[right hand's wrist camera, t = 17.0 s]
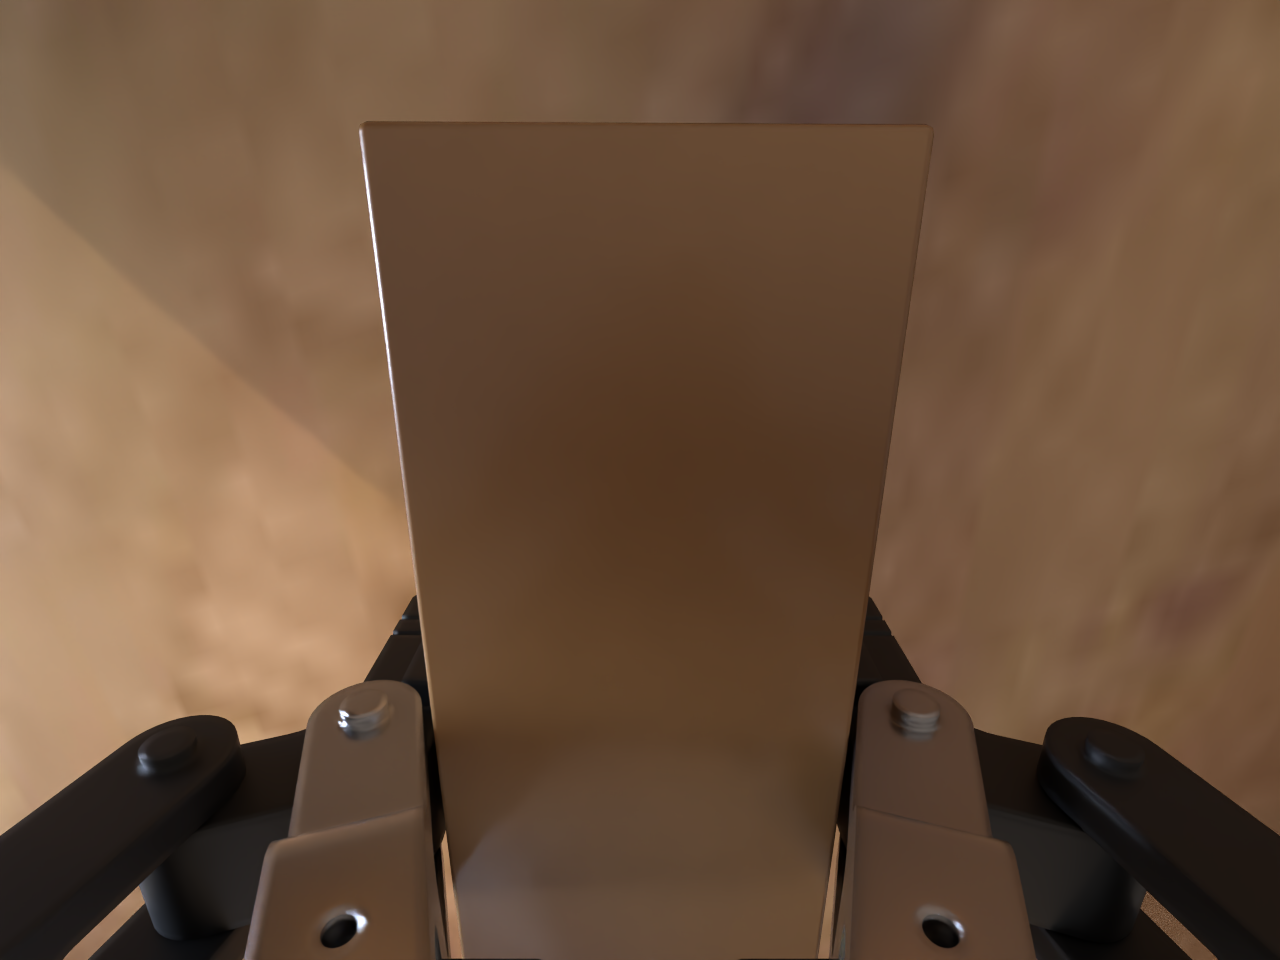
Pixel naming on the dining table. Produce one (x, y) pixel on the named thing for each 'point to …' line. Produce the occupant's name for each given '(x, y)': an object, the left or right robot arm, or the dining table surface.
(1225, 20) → the dining table surface
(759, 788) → the beam
